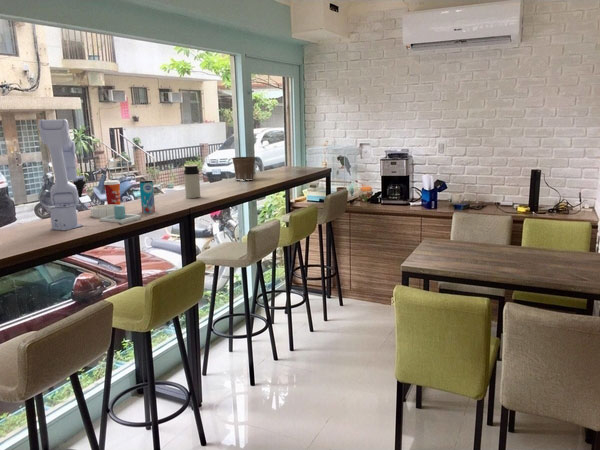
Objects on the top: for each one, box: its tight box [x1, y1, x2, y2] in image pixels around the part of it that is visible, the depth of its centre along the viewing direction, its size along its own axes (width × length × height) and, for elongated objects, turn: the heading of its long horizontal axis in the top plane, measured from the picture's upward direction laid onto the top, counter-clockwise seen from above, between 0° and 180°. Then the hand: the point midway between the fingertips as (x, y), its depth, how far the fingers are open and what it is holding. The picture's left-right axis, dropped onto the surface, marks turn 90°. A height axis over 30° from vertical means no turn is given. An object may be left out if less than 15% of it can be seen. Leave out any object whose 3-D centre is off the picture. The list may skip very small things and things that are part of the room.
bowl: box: [90, 204, 116, 219], centre depth 230 cm, size 13×13×4 cm
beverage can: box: [139, 180, 156, 214], centre depth 235 cm, size 6×6×15 cm
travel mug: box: [183, 164, 201, 199], centre depth 280 cm, size 8×8×18 cm
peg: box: [114, 204, 127, 220], centre depth 218 cm, size 4×4×6 cm
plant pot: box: [231, 156, 256, 180], centre depth 351 cm, size 16×16×16 cm
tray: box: [99, 213, 142, 225], centre depth 219 cm, size 12×12×2 cm
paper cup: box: [103, 179, 121, 205], centre depth 247 cm, size 8×8×14 cm
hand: (72, 198), depth 223 cm, fingers open, 7 cm apart
